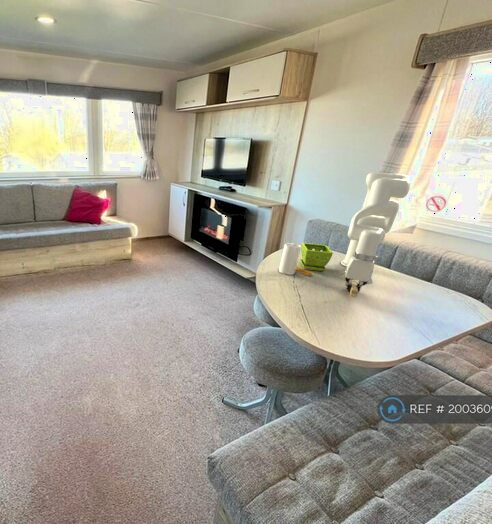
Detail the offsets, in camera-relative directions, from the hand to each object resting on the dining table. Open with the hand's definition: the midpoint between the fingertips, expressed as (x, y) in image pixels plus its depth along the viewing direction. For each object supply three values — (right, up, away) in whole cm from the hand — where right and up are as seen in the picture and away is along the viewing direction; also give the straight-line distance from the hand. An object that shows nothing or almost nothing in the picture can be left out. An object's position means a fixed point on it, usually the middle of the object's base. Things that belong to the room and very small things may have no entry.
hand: (352, 291), depth 150 cm
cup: (-19, +9, +26) cm, 34 cm away
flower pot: (-1, +11, +34) cm, 36 cm away
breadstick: (-11, +8, +26) cm, 29 cm away
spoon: (+1, 0, +2) cm, 2 cm away
